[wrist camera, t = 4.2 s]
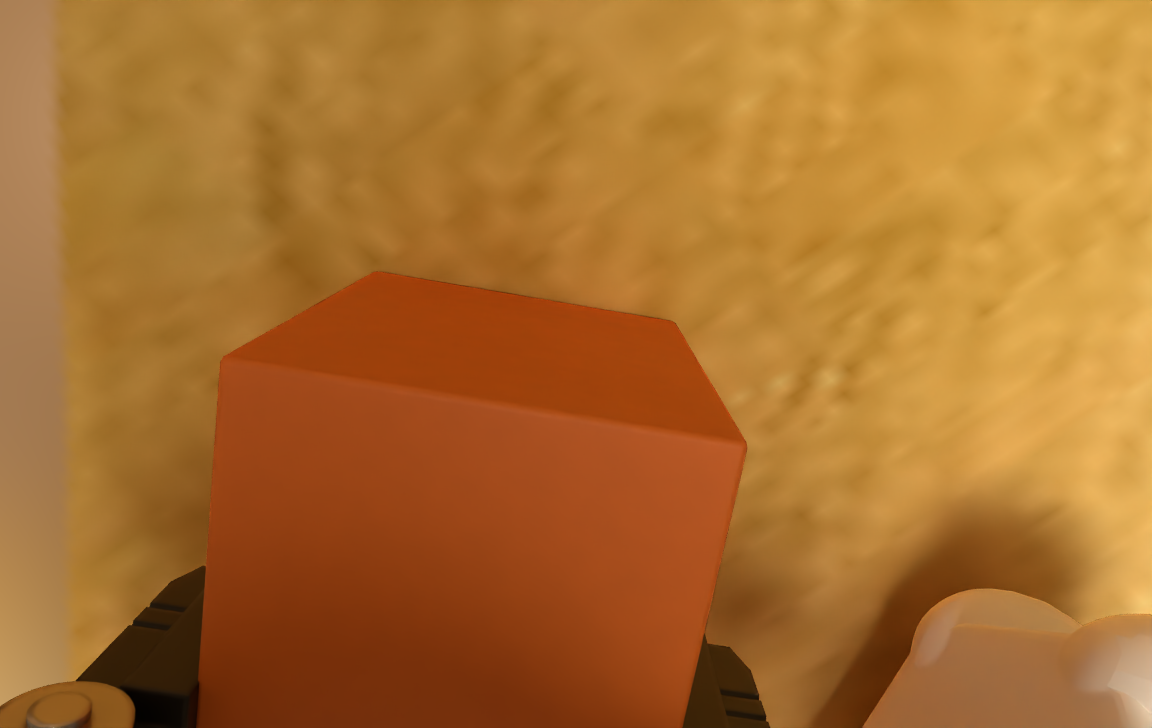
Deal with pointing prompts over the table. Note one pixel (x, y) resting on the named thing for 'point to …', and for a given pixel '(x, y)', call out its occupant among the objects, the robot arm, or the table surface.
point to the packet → (462, 516)
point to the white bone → (1020, 668)
